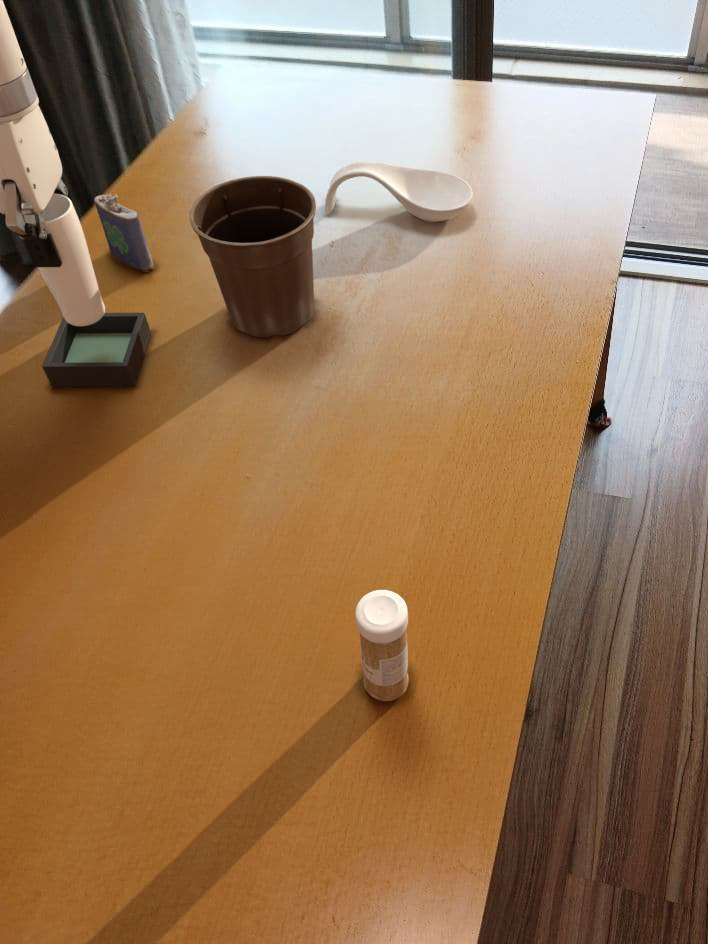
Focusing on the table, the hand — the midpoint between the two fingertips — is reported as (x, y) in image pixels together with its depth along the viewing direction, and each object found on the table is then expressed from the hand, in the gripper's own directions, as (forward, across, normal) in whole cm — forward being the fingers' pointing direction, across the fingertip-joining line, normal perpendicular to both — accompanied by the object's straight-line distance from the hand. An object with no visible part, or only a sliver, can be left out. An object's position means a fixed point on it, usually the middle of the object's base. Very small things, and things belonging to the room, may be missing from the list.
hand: (57, 246), depth 98 cm
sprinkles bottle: (+18, +49, +40) cm, 66 cm away
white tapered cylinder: (+10, 0, 0) cm, 10 cm away
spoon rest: (+18, -36, +40) cm, 57 cm away
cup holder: (+17, 0, 0) cm, 17 cm away
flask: (+18, -23, -1) cm, 29 cm away
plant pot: (+18, -10, +22) cm, 30 cm away
